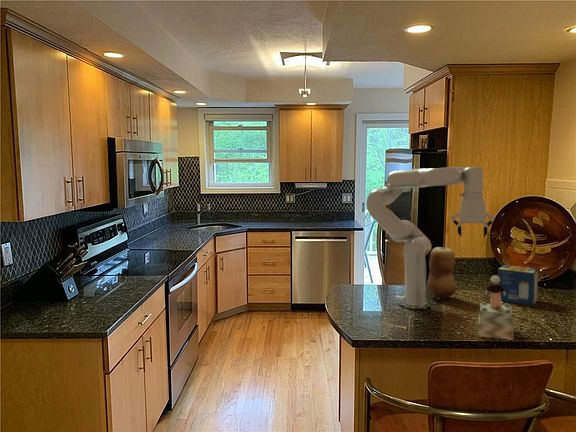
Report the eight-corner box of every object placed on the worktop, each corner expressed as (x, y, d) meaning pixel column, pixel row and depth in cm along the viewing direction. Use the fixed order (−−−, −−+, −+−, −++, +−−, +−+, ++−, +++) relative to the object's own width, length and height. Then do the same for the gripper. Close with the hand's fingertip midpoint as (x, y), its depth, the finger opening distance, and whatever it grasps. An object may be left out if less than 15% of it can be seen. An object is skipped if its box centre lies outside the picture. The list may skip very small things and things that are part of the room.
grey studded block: (478, 337, 171) (478, 309, 170) (478, 326, 182) (478, 300, 181) (513, 341, 167) (514, 312, 166) (511, 330, 178) (512, 303, 177)
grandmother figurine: (501, 306, 176) (502, 274, 175) (507, 309, 172) (507, 276, 171) (482, 306, 176) (483, 274, 174) (487, 309, 172) (487, 277, 170)
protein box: (502, 295, 225) (503, 264, 223) (537, 300, 215) (538, 268, 214) (496, 300, 217) (497, 268, 215) (532, 306, 207) (533, 272, 206)
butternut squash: (459, 302, 216) (460, 250, 213) (431, 302, 216) (431, 250, 214) (449, 294, 230) (450, 245, 227) (423, 294, 230) (423, 245, 227)
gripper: (450, 196, 193) (450, 236, 195) (495, 196, 186) (494, 238, 188) (451, 195, 200) (451, 234, 201) (495, 195, 193) (494, 235, 195)
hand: (472, 236), depth 195 cm, fingers open, 9 cm apart
